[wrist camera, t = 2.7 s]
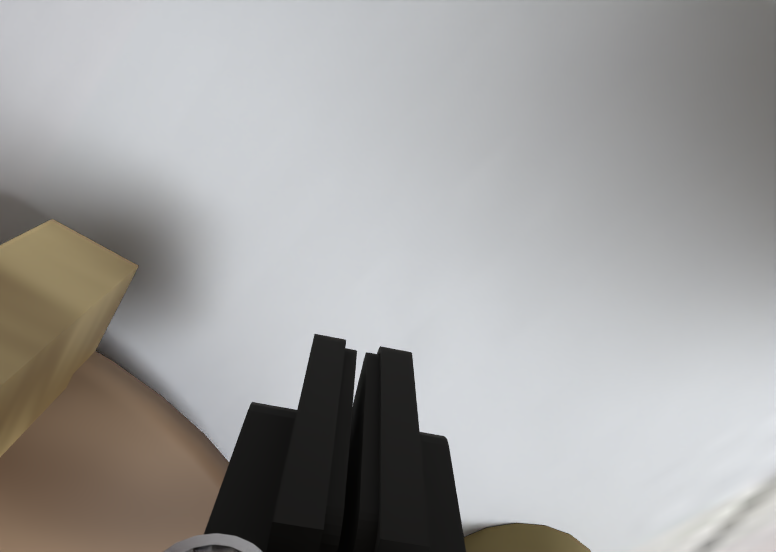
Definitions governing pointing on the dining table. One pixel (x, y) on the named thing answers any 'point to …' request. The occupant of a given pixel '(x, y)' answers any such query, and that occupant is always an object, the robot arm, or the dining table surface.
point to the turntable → (86, 414)
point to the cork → (522, 540)
